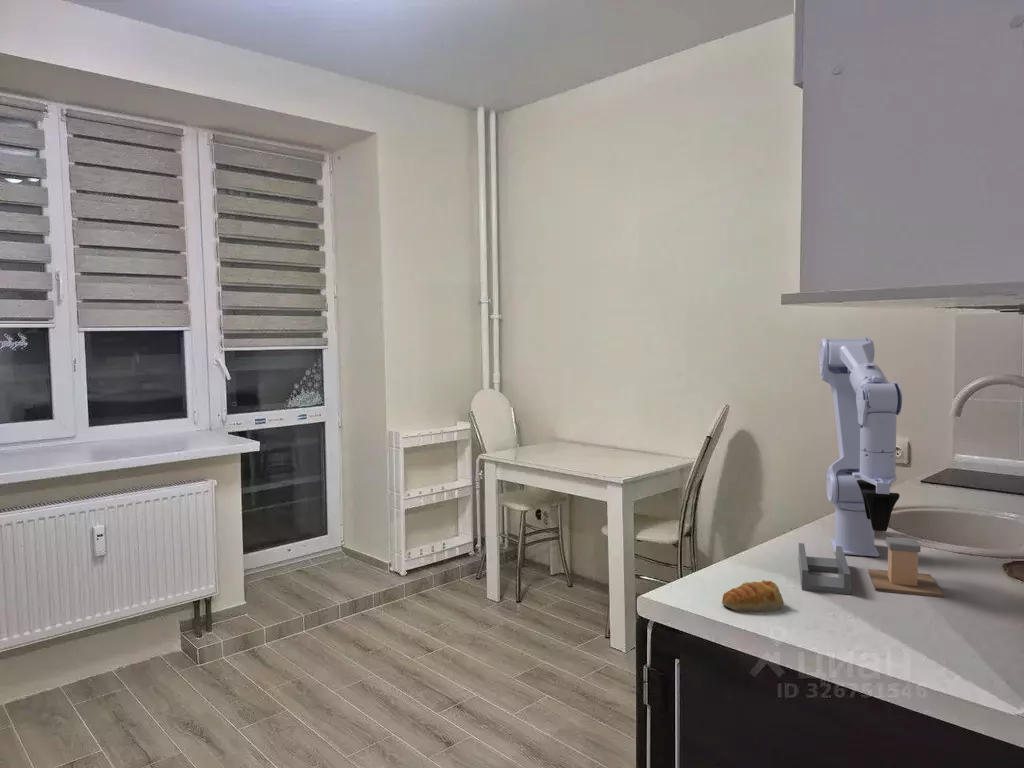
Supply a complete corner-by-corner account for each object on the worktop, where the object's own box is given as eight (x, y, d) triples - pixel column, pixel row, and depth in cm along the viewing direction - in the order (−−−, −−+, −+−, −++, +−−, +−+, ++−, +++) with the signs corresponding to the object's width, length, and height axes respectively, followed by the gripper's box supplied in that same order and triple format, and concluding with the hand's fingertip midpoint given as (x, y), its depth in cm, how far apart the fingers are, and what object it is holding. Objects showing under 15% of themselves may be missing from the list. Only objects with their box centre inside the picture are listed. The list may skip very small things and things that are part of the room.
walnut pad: (868, 571, 130) (868, 568, 130) (930, 576, 127) (930, 574, 127) (875, 590, 121) (875, 587, 121) (942, 597, 117) (942, 594, 117)
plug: (885, 575, 127) (886, 536, 126) (914, 577, 125) (915, 539, 125) (889, 584, 122) (890, 544, 122) (919, 586, 121) (920, 546, 120)
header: (798, 560, 137) (798, 543, 137) (841, 564, 134) (841, 546, 134) (801, 589, 122) (802, 569, 122) (850, 594, 120) (850, 574, 119)
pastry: (736, 617, 112) (736, 594, 111) (713, 602, 118) (713, 580, 118) (787, 610, 114) (787, 587, 114) (762, 595, 121) (762, 573, 120)
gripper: (848, 443, 134) (847, 513, 135) (857, 456, 121) (856, 534, 122) (890, 444, 132) (889, 515, 133) (904, 457, 118) (902, 537, 119)
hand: (876, 524), depth 127 cm, fingers open, 7 cm apart
